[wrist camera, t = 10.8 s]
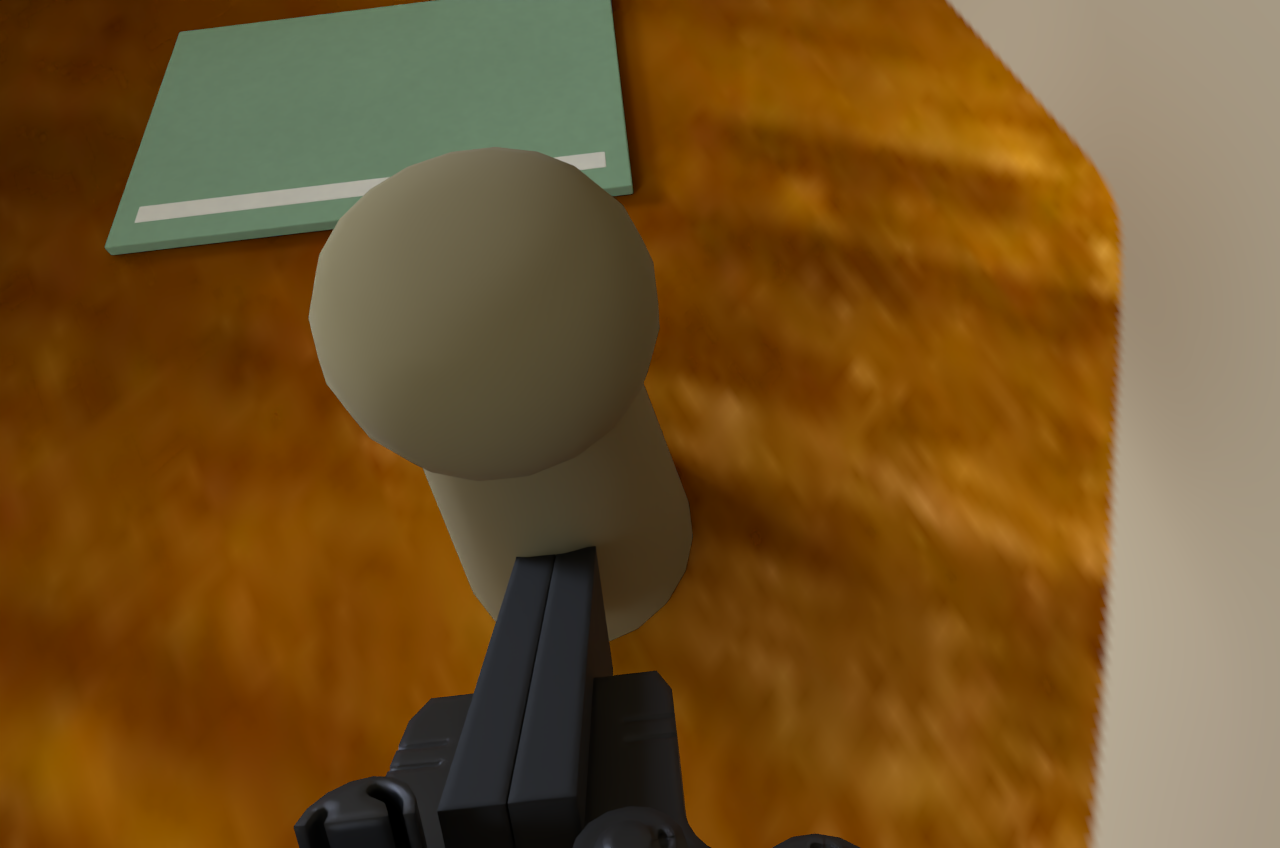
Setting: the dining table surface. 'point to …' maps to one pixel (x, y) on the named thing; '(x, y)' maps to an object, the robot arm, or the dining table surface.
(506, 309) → the cork
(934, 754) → the dining table surface
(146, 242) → the cloth
